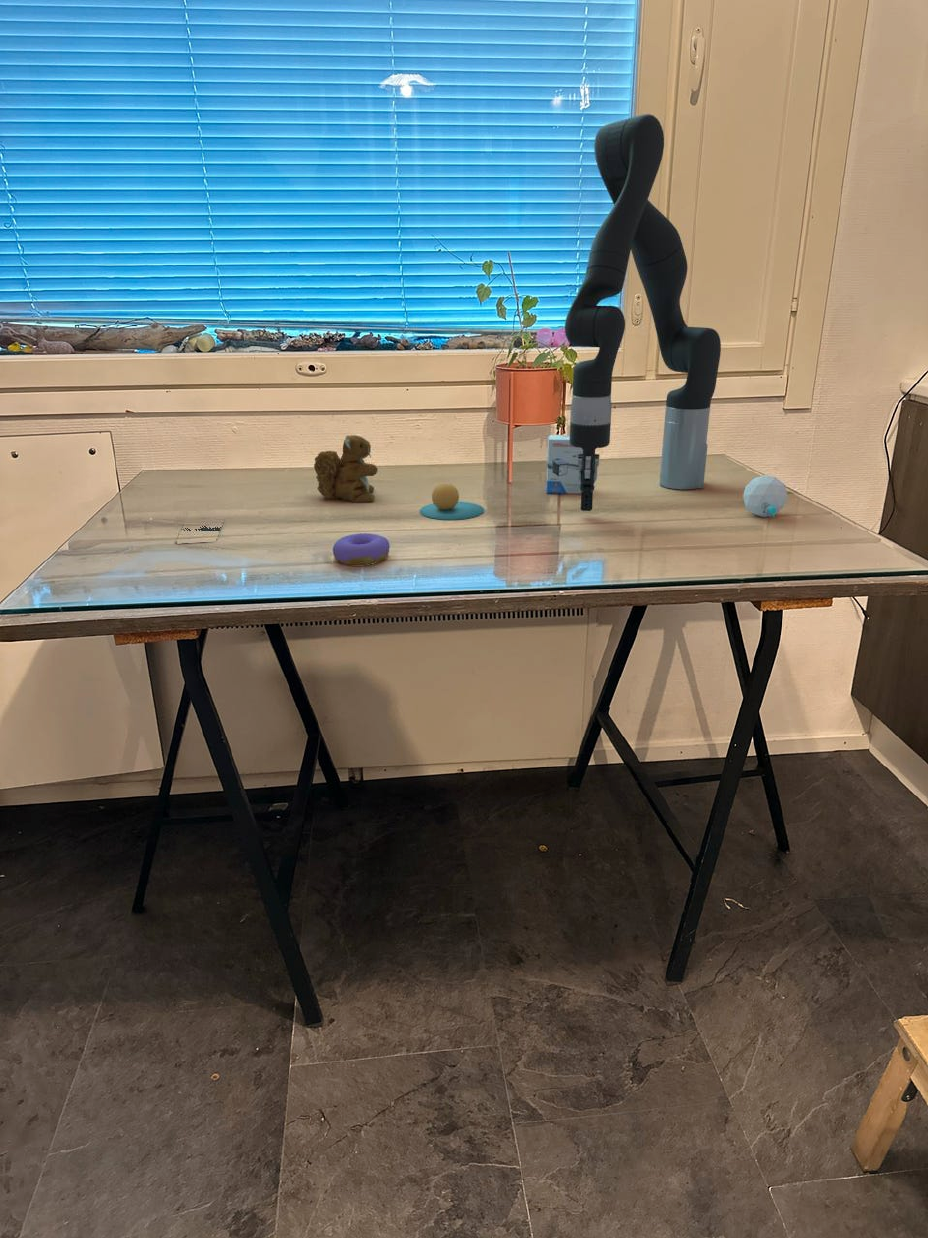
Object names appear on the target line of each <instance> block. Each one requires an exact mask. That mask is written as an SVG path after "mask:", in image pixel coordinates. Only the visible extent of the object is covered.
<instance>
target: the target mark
mask: <svg viewBox="0 0 928 1238" xmlns="http://www.w3.org/2000/svg"><path fill="white" fill-rule="evenodd" d="M484 512H485V509H484V507H483V506H482V505H480V504H477V503H474V502H469V501H460V500H458V503H457V505H456V506H455V507H454V508H452V509H450V510H441V509H439V508H437V507H436V506H435V505H434V503H433V502H432V503H429V504H425V505H424V506H422V507H421V508H420V509H419V513H420V515H421V516H423V515H424V516H423V517H425V516H426V517H425V518H428V517H429V519H433V518H434V519H433V520H441V521H458V520H466V519H472V518H475V517H478V516H480V515H482V514H483V513H484Z"/></svg>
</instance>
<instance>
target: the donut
mask: <svg viewBox="0 0 928 1238" xmlns="http://www.w3.org/2000/svg"><path fill="white" fill-rule="evenodd" d="M390 548H391V546H390V542H389V540H388V539H387V538H386V537H384V536H383V535H379V534H376V533H367V532H365V533H364V532H363V533H361V532H360V533H354V534H348V535H345V536H342V537H341V538H340V539H338V540H336V542H334V544H333V547H332V554H333V556H334V558H335V560H336V561H338V562H339V563H340V564H342V563H343V564H342V565H345V564H346V566H350V565H364V566H368V565H367V564H371V565H373V564H372V563H375V562H378V563H380V562H382V561H384V560H385V559H386V558H387V557H388V555H389V554H390ZM379 561H380V562H379ZM375 564H376V563H375Z"/></svg>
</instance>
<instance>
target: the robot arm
mask: <svg viewBox="0 0 928 1238" xmlns="http://www.w3.org/2000/svg"><path fill="white" fill-rule="evenodd" d="M664 134H665V133H664V130H663V126H662V124H661V123H660V121H659V120H658V118H657V117H656V116H655V115H653V114H650V113H648V114H646V113H645V114H640V115H635V116H632V117H628V118H625V119H621V120H617V121H613V122H611V123H610V122H609V123H608V124H607V123H606V124H605V125H603V126H602V127H601V128H599V129H598V131H597V132H596V135H595V138H594V146H593V149H594V156H595V157H594V158H595V162H596V165H597V169H598V171H599V175H600V177H601V179H602V181H603V184H604V186H605V187H606V190H607V192H608V195H609V197H610V199H611V201H612V203H613V207H612V208H611V210H610V212H609V213H608V215H607V216H606V217H605V218H604V221H602V224H601V225H600V227H599V229H598V231H597V232H596V234H595V236H594V238H593V241H592V243H591V247H590V250H589V251H590V252H589V255H588V260H587V265H586V270H585V274H584V277H583V281H582V283H581V285H580V287H579V290H578V291H577V294H576V296H575V298H574V300H573V302H572V304H571V306H570V307H569V310H568V313H567V314H566V318H565V322H564V333H565V337H566V340H567V341H568V343H569V344H570V345H572V346H573V347H580V348H599V349H598V352H597V354H596V356H595V357H594V358H593V359H588V360H583V361H579V362H576V364H575V366H574V368H573V374H572V379H573V380H572V399H571V402H570V403H571V404H570V419H569V420H570V421H569V435H570V444H571V445H572V446H574V447H577V448H579V447H580V448H582V449H583V454H579V456H578V466H579V480H580V481H581V486H580V490H581V494H580V510H581V511H582V512H591V511H592V510H593V502H594V501H593V498H594V491H595V489H596V487H595V483H596V482H597V479H598V478H597V477H598V467H599V466H600V465H599V464H600V453H596V450H597V449H603V448H607V447H608V446H609V445H610V443H611V425H612V423H611V422H612V383H613V372H614V367H615V363H616V359H617V356H618V353H619V349H620V346H621V343H622V341H623V337H624V334H625V331H626V319H625V316H624V313H623V311H622V310H621V309H620V308H619V307H618V306H615V305H598V304H599V303H600V302H601V301H603V300H605V299H608V298H611V297H615V296H617V295H619V294H620V293H621V292H622V290H623V288H624V284H625V280H626V274H627V270H628V264H629V260H630V255H632V258H633V262H634V264H635V267H636V269H637V270H636V271H637V273H638V277H639V279H640V281H641V283H642V287H643V289H644V291H645V295H646V298H647V302H648V305H649V308H650V312H651V315H652V318H653V323H654V328H655V332H656V337H657V341H658V346H659V351H660V354H661V358H662V361H663V362H664V364H665V366H666V367H667V368H668V369H669V370H670V371H672V372H677V373H682V374H683V373H685V374H687V377H686V380H685V383H684V385H682V386H681V387H679V388H676V389H672V390H670V391H669V392H668V393H667V395H666V400H665V414H664V425H663V426H664V427H663V437H662V448H661V449H662V451H661V460H660V461H661V462H660V463H661V464H660V473H659V485H660V486H661V487H665V488H667V489H674V490H694V489H704V482H705V474H706V462H707V457H708V456H707V453H708V443H707V442H708V432H709V431H708V430H709V424H710V423H709V422H710V421H709V420H710V411H711V403H712V398H713V396H714V393H715V391H716V388H717V387H716V386H717V378H718V374H719V373H718V372H719V366H720V361H721V352H722V351H721V350H722V343H721V342H722V341H721V336H720V335H719V333H718V331H717V330H716V329H714V328H710V327H702V326H701V327H699V326H698V327H697V326H688V325H687V324H686V321H685V320H684V315H683V313H682V309H681V296H682V293H683V289H684V286H685V283H686V279H687V274H688V260H687V256H686V252H685V249H684V245H683V242H682V240H681V236H680V233H679V231H678V230H677V228H676V227H675V226H674V224H673V223H672V222H671V221H670V220H669V219H668V217H666V216H665V215H664V214H663V213H662V212H661V211H660V210H659V209H658V208H657V207H655V205H654V204H653V203H652V202H650V200H649V197H650V194H651V191H652V188H653V186H654V183H655V181H656V177H657V175H658V172H659V169H660V166H661V163H662V160H663V155H664V148H665V136H664Z"/></svg>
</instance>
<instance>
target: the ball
mask: <svg viewBox="0 0 928 1238" xmlns="http://www.w3.org/2000/svg"><path fill="white" fill-rule="evenodd" d="M431 501H432V504H433V503H434V505H435V506H436V507H437V508H439V509H441V510H450V509H452V508H454V507H455V506H456V505H457V503H458V501H460V494H459V491H458V489H457V488H456V486H455V485H453V484H452V483H448V482H443V483H439V484H438V485H436V486H435V487H434V489H433V490H432V492H431Z"/></svg>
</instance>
